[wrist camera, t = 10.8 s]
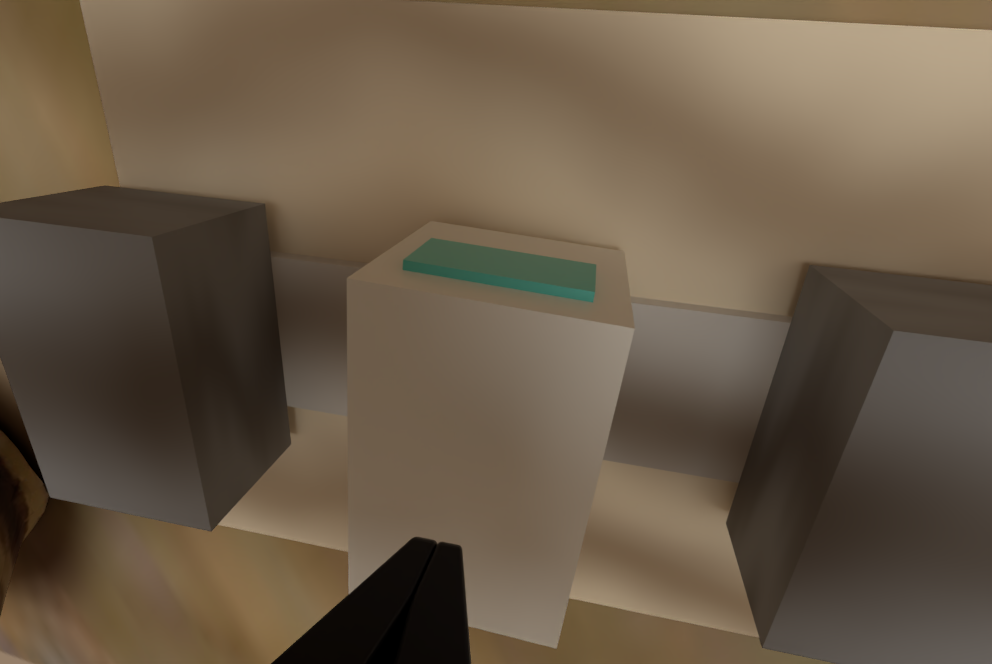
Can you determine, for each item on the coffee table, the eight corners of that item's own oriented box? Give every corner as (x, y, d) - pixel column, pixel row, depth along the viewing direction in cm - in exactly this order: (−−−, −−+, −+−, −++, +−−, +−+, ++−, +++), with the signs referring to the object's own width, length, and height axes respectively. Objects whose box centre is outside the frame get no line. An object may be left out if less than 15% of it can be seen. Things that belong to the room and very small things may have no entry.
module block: (569, 499, 16) (556, 648, 12) (416, 465, 17) (349, 595, 13) (625, 243, 13) (637, 317, 9) (431, 213, 14) (346, 266, 9)
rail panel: (830, 628, 18) (914, 822, 13) (209, 502, 22) (93, 619, 17) (1112, 43, 11) (1529, -5, 6) (108, -10, 14) (-151, -69, 9)
